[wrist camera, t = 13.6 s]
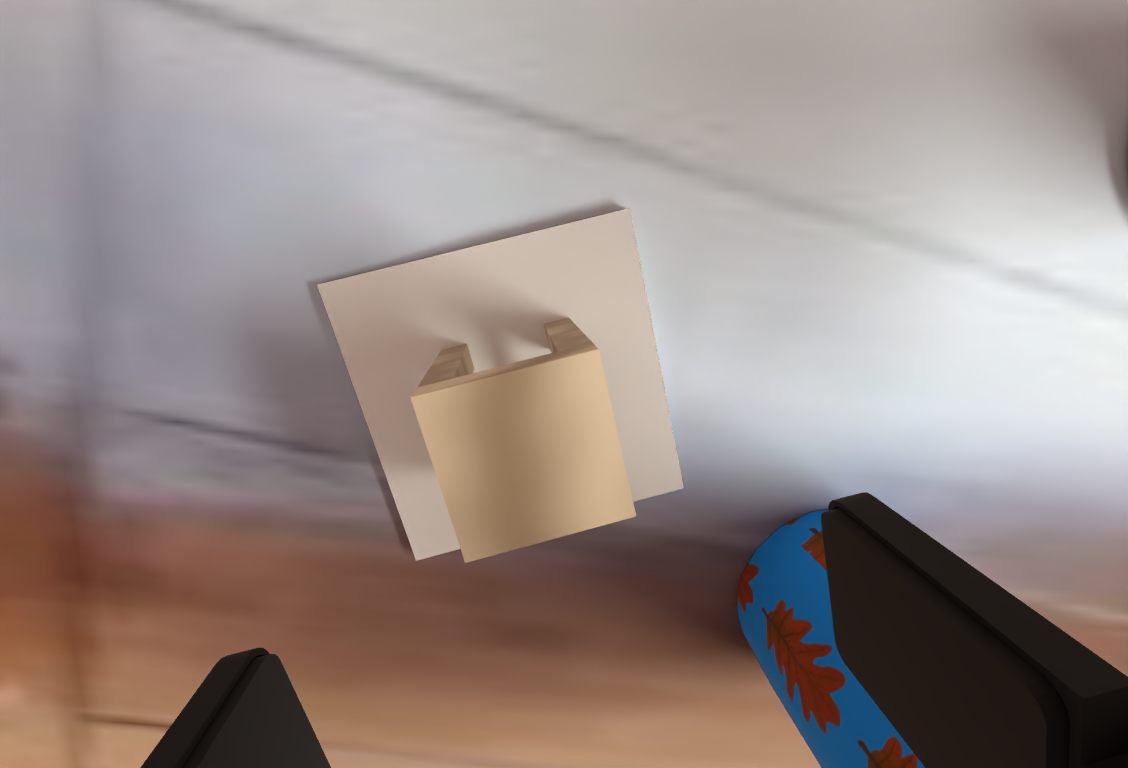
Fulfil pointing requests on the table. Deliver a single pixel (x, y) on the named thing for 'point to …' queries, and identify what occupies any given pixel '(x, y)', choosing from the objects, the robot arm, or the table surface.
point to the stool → (524, 444)
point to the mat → (502, 347)
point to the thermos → (812, 652)
